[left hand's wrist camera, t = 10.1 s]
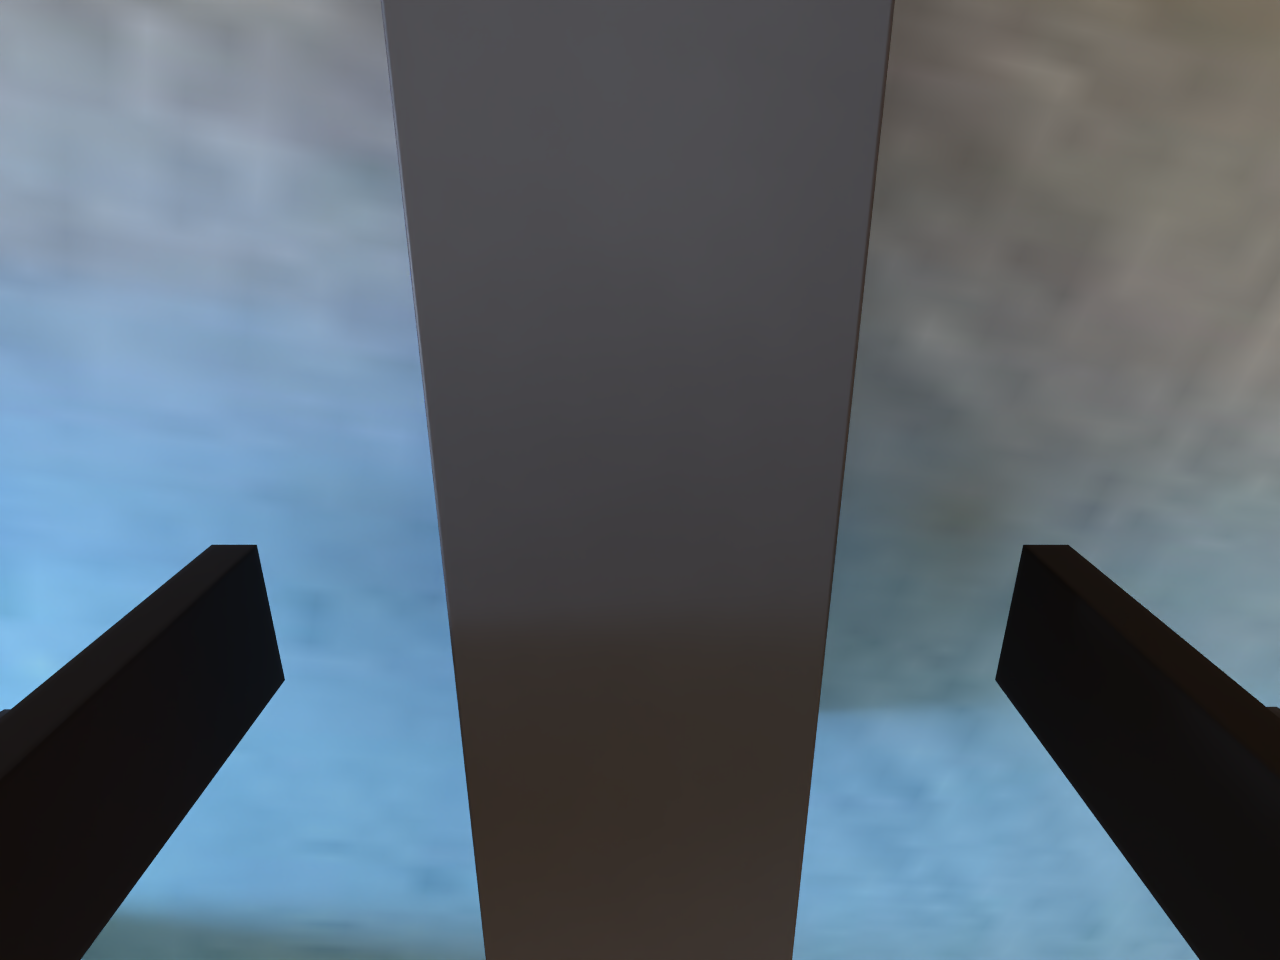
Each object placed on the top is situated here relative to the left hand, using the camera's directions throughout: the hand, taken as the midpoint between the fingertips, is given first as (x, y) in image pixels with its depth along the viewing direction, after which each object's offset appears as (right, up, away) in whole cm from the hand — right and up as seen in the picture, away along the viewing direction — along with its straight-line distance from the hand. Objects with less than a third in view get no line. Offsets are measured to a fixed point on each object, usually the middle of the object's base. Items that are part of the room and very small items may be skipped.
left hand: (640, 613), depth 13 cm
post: (0, +21, -3) cm, 22 cm away
